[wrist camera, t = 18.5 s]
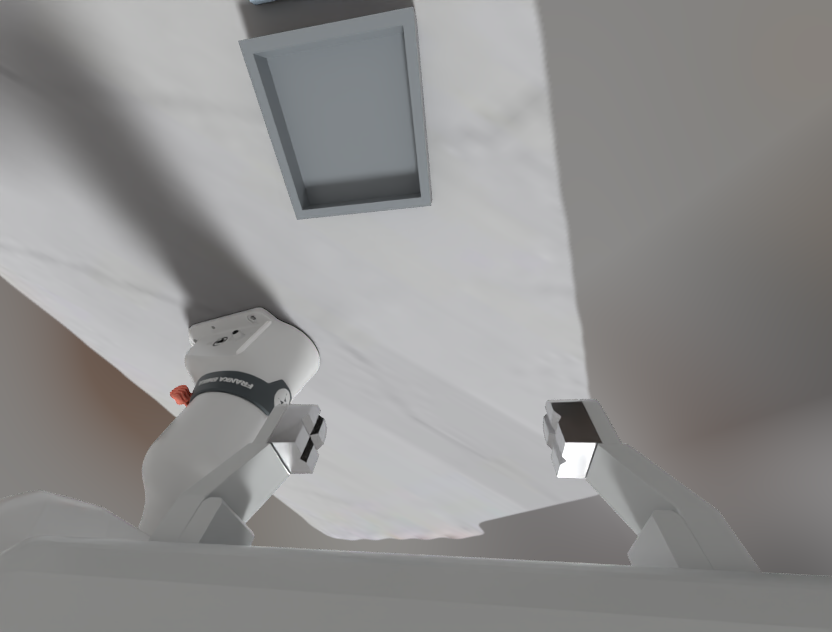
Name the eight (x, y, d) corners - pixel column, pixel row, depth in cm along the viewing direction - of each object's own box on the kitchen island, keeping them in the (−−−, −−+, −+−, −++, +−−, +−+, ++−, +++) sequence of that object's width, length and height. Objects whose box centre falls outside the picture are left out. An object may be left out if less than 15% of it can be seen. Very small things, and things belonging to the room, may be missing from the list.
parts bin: (308, 212, 38) (297, 219, 35) (258, 48, 30) (238, 40, 27) (432, 198, 36) (430, 205, 33) (416, 18, 28) (413, 6, 25)
